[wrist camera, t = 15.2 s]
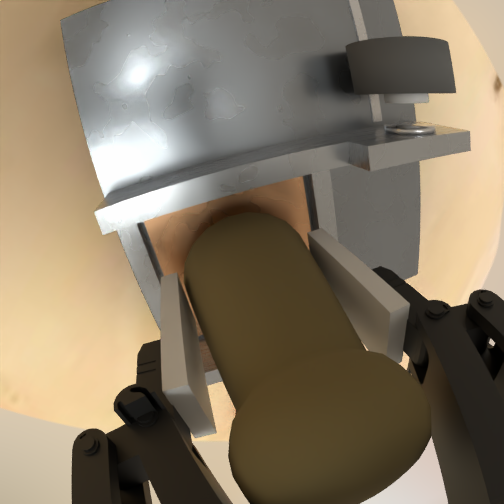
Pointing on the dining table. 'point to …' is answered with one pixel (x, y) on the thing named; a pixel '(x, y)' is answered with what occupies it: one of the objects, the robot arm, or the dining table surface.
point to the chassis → (245, 129)
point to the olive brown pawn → (298, 371)
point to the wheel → (401, 68)
